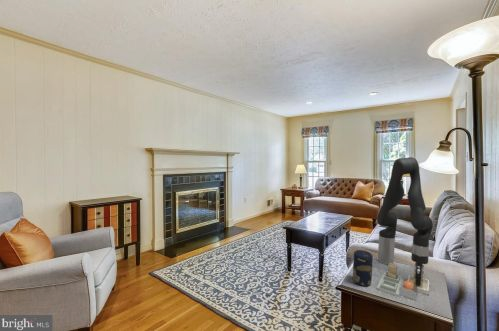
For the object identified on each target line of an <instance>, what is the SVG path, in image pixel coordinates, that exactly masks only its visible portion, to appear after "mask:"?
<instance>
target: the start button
mask: <svg viewBox="0 0 499 331" xmlns="http://www.w3.org/2000/svg"><path fill="white" fill-rule="evenodd" d="M403 282H404V288H407V289H411V290H413V286H414V283H413V282H411V281H407V280H403Z"/></svg>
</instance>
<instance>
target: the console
mask: <svg viewBox="0 0 499 331" xmlns="http://www.w3.org/2000/svg"><path fill="white" fill-rule="evenodd" d="M417 295H418V292H417V286H413V290H411V289H407V288H404V281H403V282H401V285H400V293H399V296H401V297H404V298H408V299H411V300H413V301H416V300H417V297H418V296H417Z"/></svg>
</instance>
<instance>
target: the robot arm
mask: <svg viewBox="0 0 499 331" xmlns="http://www.w3.org/2000/svg"><path fill="white" fill-rule="evenodd" d="M420 173H421V172H420V165H419V162H418V160H417V159H416V158H415V157H411V156H409V157H401V158H397V159H395V160H394V162H393V165H392V168H391V175H390V180H389V183H388V185H387V186H388V187H387V189H386V191H385V195H384V199H383V202H382V204H381V206H380V208H379V211H378V213H377V216H376V223H377V224H378V226H381V227H385V228H383V229H381V230H379V232H378V246H377V247H378V249H377V261H378V262H379V263H381V264H384V265H389V263H391V264H394V263H395V262H394V261H395V260H394V259H395V243H396V233H397V226H398V216H397V214H396V213H395V212H394V211H391V210H393V209H394V208H396V207H398V206H399V205H400V204H401V202H402V201H403V198H404V195H405V188H404V186H403V185H402V182H401V181H402V178H403V176H404V175H409V177H410V183H409V184H410V185H409V188H408V190H407V202H408V204H409V205H408V206H409V208H410V212H409V214H410V216H409V217H410V224H411V227H413V228H414V229H415V230H416V231H415V232H414V233H413V236H412V245H411V257H410V258H411V261H413V262H414V270H415V279H416V282H415V285H417V286H420V284H421V276H422V275H423V276H424V273H423V271H424V270H425V269H424V268H425V265H427V264H429V257H430V256H429V254H430V248H429V246H430V237H431V234H432V231H433V229H434V228H433V227H434V223H433V220H432V218H431V217H430V216H427V215H424V211H426V209H427V208H426V203H425V200H424V196H423V192H422V184H421V174H420ZM418 276H420V277H418Z"/></svg>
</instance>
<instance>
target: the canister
mask: <svg viewBox="0 0 499 331" xmlns="http://www.w3.org/2000/svg"><path fill="white" fill-rule="evenodd" d="M352 264H353V266H352V280H353V282H354V283H355V284H357V285H360V286H363V287H364V286H365V287H367V286H370V285H372V282H373V281H372V280H373V254H372V253H371V252H369V251H367V250H362V249H357V250H355V251H354V252H353V262H352Z"/></svg>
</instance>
